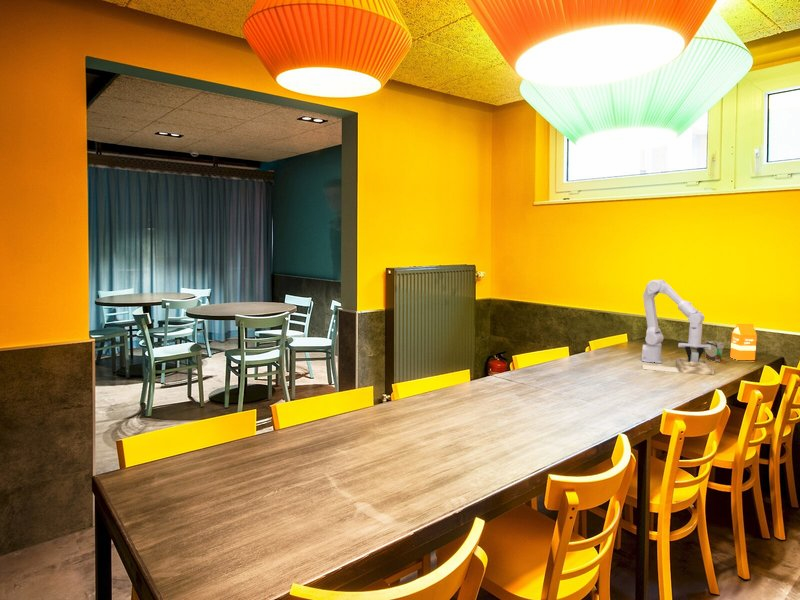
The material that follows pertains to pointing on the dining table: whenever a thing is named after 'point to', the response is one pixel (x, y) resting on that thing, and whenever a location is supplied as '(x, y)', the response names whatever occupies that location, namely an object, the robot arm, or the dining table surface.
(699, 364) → the offcut block top
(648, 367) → the beige panel
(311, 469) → the dining table surface
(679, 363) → the wooden tray
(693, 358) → the tall block
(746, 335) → the orange juice
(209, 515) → the dining table surface
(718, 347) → the food container
